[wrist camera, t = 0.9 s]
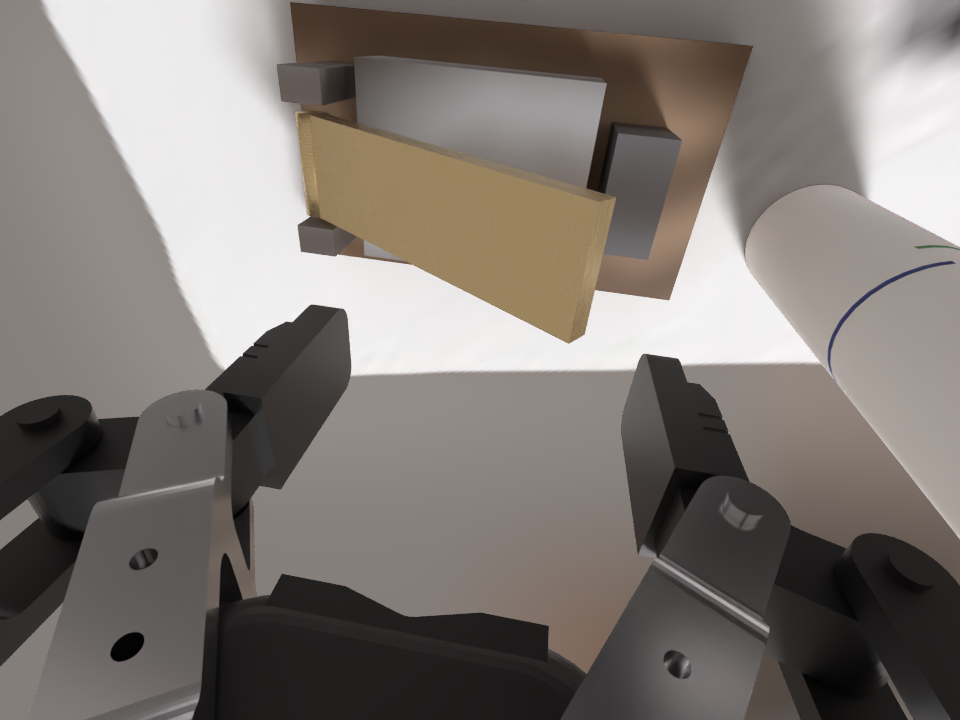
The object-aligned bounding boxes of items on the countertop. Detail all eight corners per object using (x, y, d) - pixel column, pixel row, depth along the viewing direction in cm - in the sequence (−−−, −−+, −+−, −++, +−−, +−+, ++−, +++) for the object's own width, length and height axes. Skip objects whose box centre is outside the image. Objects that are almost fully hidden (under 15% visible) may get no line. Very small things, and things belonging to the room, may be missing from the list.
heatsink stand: (314, 5, 28) (224, -8, 21) (735, 45, 27) (800, 46, 19) (334, 237, 36) (273, 287, 29) (661, 281, 34) (687, 347, 27)
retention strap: (317, 109, 25) (288, 110, 24) (621, 195, 15) (593, 203, 14) (327, 207, 28) (301, 211, 27) (589, 331, 18) (564, 346, 17)
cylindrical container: (737, 209, 31) (1076, 543, 10) (869, 165, 29) (1657, 486, 8) (752, 305, 34) (1034, 706, 13) (871, 273, 32) (1436, 701, 11)
